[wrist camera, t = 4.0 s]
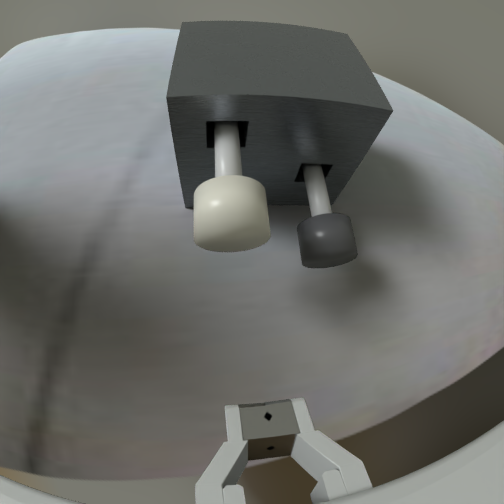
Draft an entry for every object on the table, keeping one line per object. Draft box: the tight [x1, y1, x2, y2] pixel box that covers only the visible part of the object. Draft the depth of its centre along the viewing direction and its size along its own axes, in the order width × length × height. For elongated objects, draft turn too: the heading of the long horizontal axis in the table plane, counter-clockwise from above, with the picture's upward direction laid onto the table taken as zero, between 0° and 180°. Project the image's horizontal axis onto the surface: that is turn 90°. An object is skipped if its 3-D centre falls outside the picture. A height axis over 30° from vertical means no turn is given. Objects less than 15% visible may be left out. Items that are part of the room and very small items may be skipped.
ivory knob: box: [194, 121, 271, 252], centre depth 20 cm, size 10×5×5 cm, turn 5°
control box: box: [166, 21, 393, 208], centre depth 27 cm, size 12×16×15 cm
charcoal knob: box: [297, 163, 358, 268], centre depth 25 cm, size 10×5×5 cm, turn 5°
